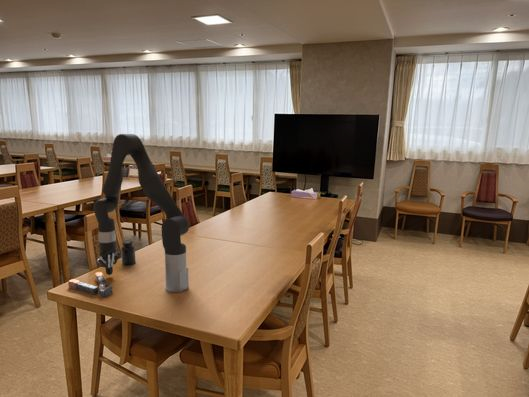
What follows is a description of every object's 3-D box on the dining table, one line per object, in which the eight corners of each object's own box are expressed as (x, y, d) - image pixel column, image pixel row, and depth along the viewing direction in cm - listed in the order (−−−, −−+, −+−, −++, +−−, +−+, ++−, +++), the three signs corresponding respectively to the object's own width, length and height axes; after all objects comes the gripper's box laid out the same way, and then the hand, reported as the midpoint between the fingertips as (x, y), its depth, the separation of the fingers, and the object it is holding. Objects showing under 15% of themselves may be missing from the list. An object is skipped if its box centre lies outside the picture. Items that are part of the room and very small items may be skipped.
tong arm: (108, 290, 164) (108, 283, 163) (102, 291, 163) (101, 285, 162) (101, 278, 177) (101, 271, 177) (95, 279, 176) (95, 272, 175)
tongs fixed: (112, 293, 161) (112, 284, 161) (102, 298, 157) (101, 289, 156) (79, 283, 171) (78, 275, 170) (68, 287, 166) (68, 279, 165)
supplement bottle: (131, 259, 202) (130, 238, 199) (138, 262, 197) (137, 241, 195) (119, 263, 196) (118, 241, 194) (126, 266, 192) (125, 244, 190)
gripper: (101, 244, 168) (103, 280, 171) (124, 237, 179) (125, 271, 183) (89, 242, 171) (92, 277, 174) (113, 235, 183) (115, 268, 186)
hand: (109, 274), depth 178 cm, fingers closed
